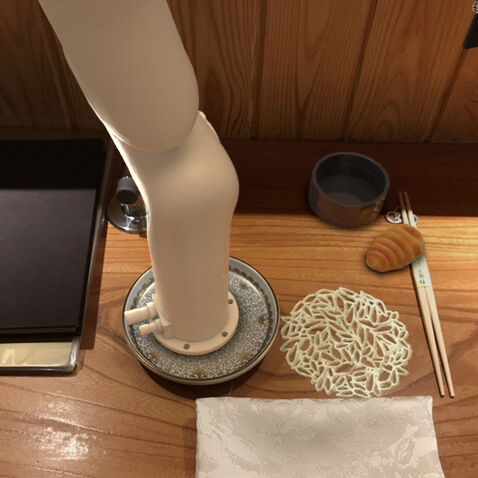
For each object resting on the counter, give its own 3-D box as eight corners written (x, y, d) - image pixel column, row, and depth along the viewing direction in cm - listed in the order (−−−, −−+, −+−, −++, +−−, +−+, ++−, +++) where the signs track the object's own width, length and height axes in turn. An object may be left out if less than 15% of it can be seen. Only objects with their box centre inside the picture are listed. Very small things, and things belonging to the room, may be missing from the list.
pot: (328, 236, 89) (334, 214, 85) (296, 184, 95) (299, 161, 91) (395, 216, 92) (403, 194, 88) (359, 167, 98) (366, 144, 93)
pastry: (385, 284, 84) (391, 269, 81) (353, 257, 87) (358, 240, 84) (426, 255, 88) (434, 238, 84) (394, 229, 90) (401, 212, 87)
